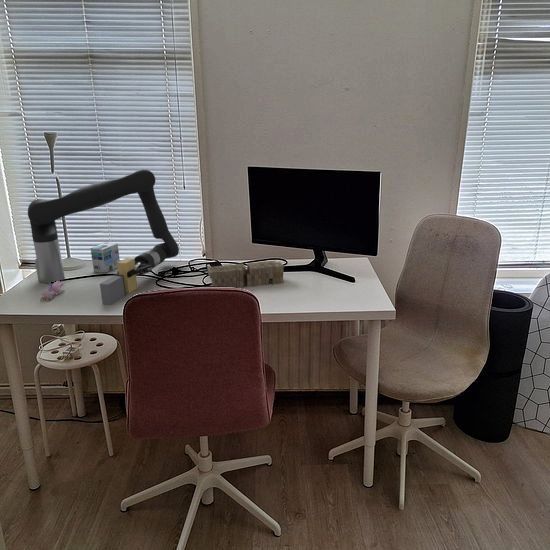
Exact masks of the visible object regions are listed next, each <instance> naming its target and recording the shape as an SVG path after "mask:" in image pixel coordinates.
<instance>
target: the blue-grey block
mask: <svg viewBox="0 0 550 550" xmlns="http://www.w3.org/2000/svg"><path fill="white" fill-rule="evenodd" d="M99 287H100V293H101V295H100V296H101V302H102V305H107V306H108V305H109V306H111V305H113V304H116V303H117V302H118V301H119V300H121V299H123V298H124V297H126V296H127V293H126V291H125V283H124V275H119V274H117V273H115V274H113V276H111V277H109V278H108V279H105V280H104V281H102V282H100V283H99Z"/></svg>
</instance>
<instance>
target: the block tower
mask: <svg viewBox="0 0 550 550" xmlns="http://www.w3.org/2000/svg"><path fill="white" fill-rule="evenodd" d="M246 266H247V268H246ZM246 266H245V264H244V263H236V264H235V263H234V264H232V263H231V264H225V265H218V266H217V265H215V266H211V265H207V267H206V268H207V274H208V276H209V277H208V278H209V279H211V286H212V287H213V286H228V287H237V288H236V289H239V288H240V289H242V288H243V289H244V286H246V287H247V288H250V287H258V286H269V284H270V283H271V285H277V284H284V269H285V268H284V263H283V264H282V262H280V261H277V262H276V260H268V261H258V262H256V261H255V262H248V263H246Z"/></svg>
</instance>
